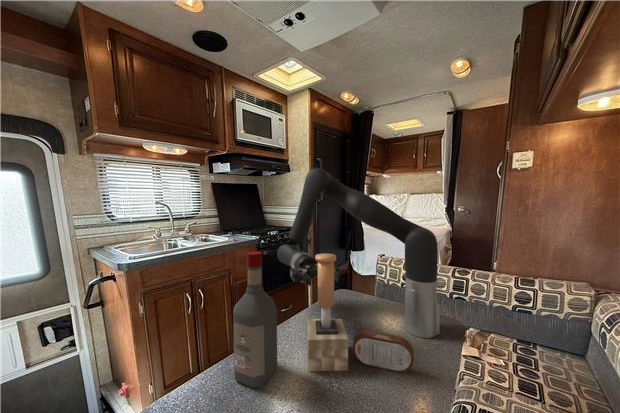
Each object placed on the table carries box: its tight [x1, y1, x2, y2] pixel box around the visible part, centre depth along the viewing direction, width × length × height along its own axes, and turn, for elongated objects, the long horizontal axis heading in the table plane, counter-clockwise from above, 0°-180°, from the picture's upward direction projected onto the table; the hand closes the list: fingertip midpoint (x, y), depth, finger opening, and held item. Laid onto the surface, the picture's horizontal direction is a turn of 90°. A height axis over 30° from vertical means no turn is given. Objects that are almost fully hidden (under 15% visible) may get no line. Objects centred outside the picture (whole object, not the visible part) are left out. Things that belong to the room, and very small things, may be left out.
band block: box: [307, 318, 349, 372], centre depth 64 cm, size 10×10×9 cm
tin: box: [352, 329, 415, 374], centre depth 60 cm, size 15×3×8 cm, turn 71°
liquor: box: [232, 250, 278, 389], centre depth 58 cm, size 9×9×30 cm
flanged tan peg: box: [314, 252, 337, 329], centre depth 63 cm, size 6×6×21 cm
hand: (324, 280), depth 64 cm, fingers open, 8 cm apart
